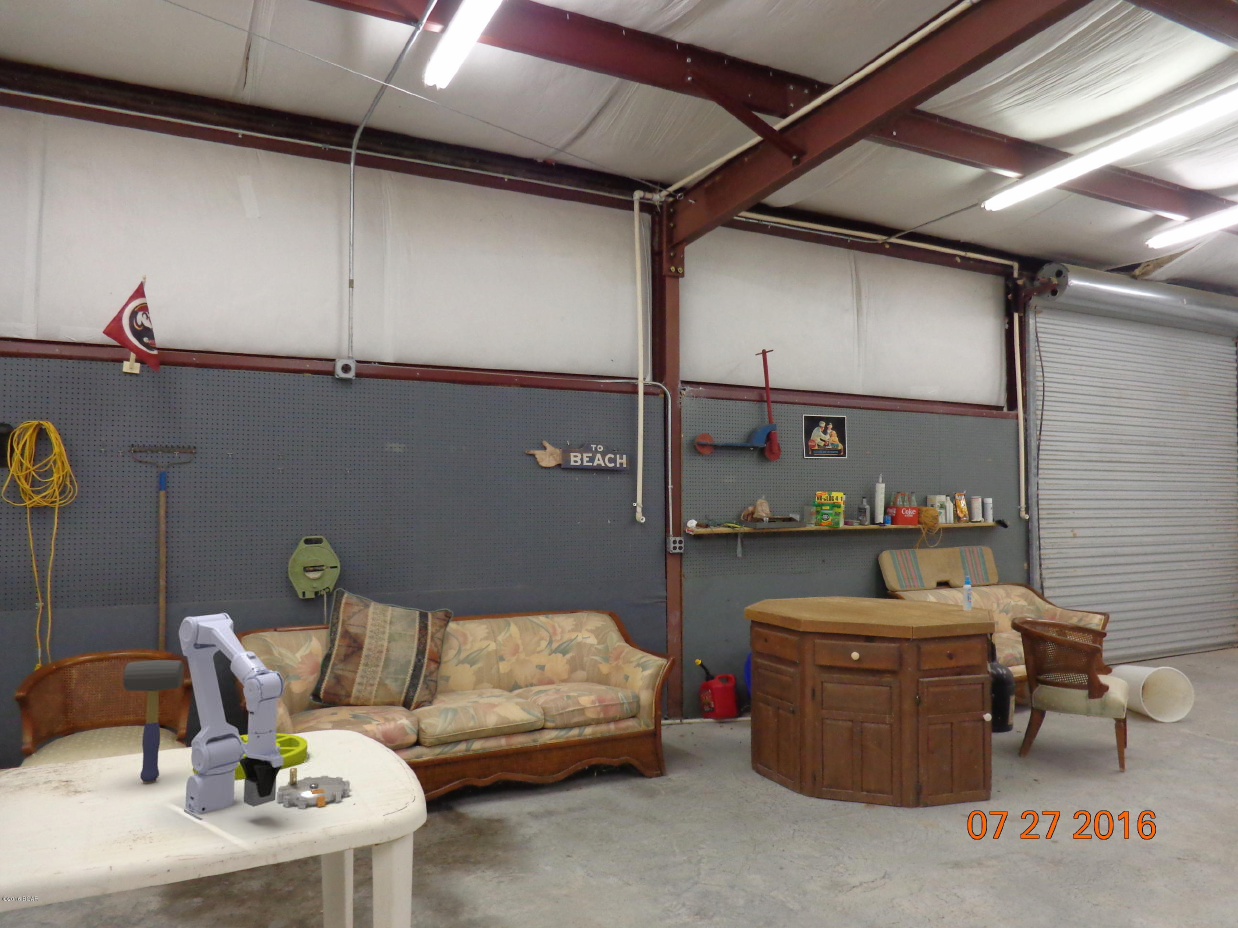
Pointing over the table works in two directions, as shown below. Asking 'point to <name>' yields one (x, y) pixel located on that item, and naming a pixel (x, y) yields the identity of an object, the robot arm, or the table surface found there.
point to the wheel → (312, 791)
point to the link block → (256, 792)
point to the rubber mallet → (152, 703)
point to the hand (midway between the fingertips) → (259, 793)
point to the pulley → (290, 749)
